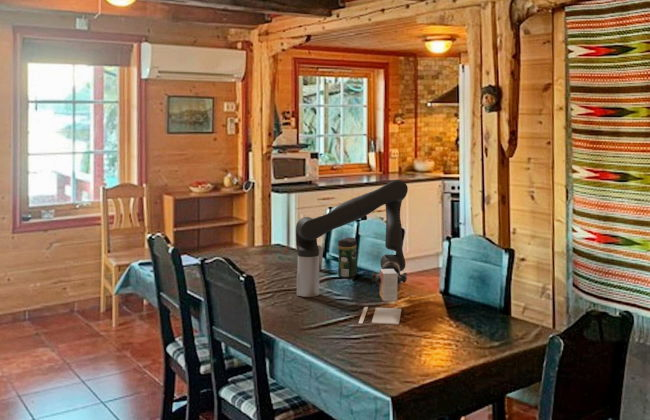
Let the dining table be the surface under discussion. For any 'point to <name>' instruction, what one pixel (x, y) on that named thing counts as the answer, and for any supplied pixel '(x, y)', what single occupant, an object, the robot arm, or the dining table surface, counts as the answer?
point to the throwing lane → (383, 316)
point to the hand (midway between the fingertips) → (387, 281)
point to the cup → (320, 255)
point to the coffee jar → (347, 257)
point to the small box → (388, 284)
